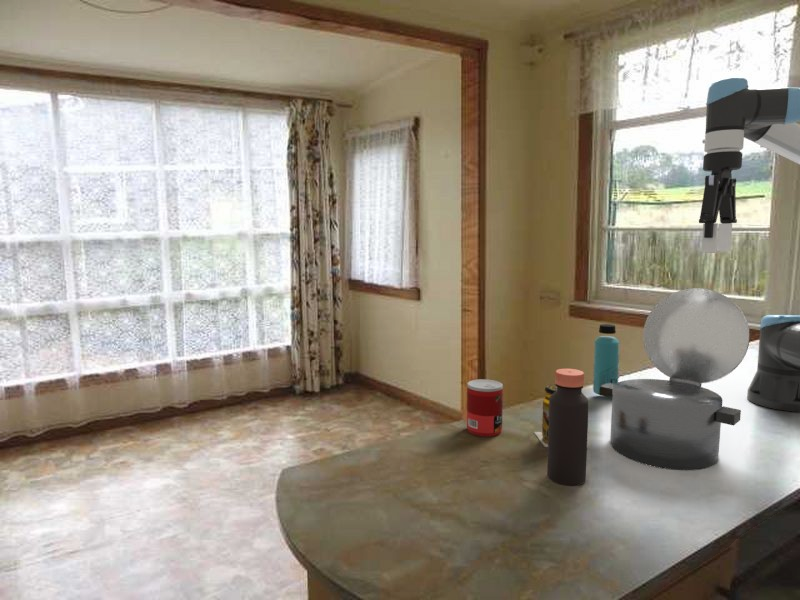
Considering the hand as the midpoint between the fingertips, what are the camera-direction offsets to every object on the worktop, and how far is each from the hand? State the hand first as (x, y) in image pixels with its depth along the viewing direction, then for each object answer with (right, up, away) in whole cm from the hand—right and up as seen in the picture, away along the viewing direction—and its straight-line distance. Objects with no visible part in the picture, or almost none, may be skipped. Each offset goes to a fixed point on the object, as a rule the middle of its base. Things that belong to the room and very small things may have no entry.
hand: (716, 252), depth 123 cm
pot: (-19, -42, -12) cm, 47 cm away
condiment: (-39, -42, -7) cm, 57 cm away
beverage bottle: (-18, -38, +21) cm, 47 cm away
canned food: (-54, -41, -1) cm, 67 cm away
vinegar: (-42, -44, -25) cm, 66 cm away
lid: (-9, -19, -6) cm, 22 cm away
